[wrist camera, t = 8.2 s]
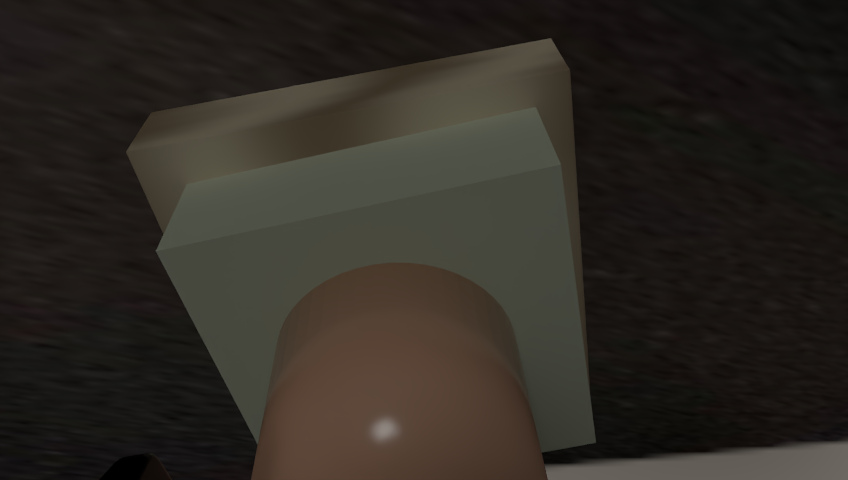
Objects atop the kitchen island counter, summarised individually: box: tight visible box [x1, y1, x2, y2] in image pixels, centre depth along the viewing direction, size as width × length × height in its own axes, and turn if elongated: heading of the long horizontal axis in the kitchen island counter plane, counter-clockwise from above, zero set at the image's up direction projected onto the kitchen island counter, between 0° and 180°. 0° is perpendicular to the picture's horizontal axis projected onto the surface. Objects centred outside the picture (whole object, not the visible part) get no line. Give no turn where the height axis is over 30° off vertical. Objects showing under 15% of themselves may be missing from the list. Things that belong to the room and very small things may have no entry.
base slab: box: [126, 38, 590, 392], centre depth 22 cm, size 11×11×3 cm
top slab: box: [156, 107, 596, 453], centre depth 19 cm, size 9×9×3 cm
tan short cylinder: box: [251, 263, 548, 480], centre depth 16 cm, size 6×6×5 cm
